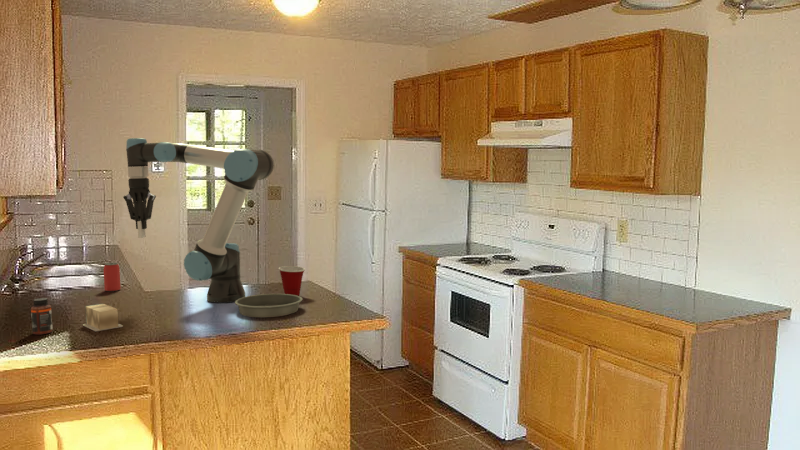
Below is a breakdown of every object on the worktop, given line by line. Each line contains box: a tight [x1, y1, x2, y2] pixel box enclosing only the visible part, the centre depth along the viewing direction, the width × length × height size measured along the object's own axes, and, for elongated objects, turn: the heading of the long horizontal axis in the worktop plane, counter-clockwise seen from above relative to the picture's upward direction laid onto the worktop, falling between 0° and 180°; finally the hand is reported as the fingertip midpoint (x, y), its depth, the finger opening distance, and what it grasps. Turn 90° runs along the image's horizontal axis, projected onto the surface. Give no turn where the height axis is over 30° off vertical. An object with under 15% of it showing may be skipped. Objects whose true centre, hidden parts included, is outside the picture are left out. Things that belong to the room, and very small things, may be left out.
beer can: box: [103, 262, 122, 293], centre depth 296 cm, size 7×7×12 cm
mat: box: [82, 323, 124, 332], centre depth 230 cm, size 12×9×1 cm
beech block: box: [84, 303, 119, 331], centre depth 230 cm, size 6×6×13 cm
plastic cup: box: [278, 265, 306, 296], centre depth 276 cm, size 11×11×12 cm
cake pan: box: [234, 293, 303, 318], centre depth 250 cm, size 25×25×4 cm
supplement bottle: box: [30, 297, 54, 336], centre depth 221 cm, size 6×6×11 cm
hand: (141, 237), depth 267 cm, fingers closed
